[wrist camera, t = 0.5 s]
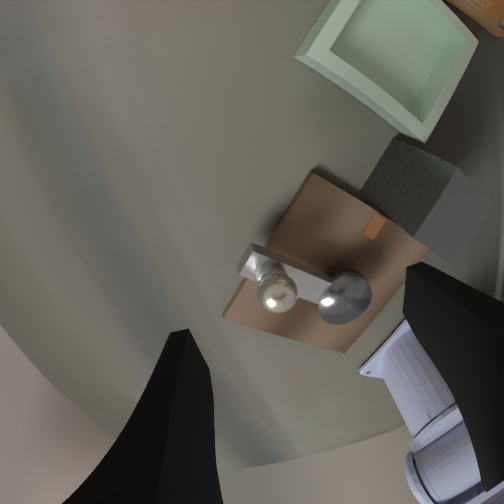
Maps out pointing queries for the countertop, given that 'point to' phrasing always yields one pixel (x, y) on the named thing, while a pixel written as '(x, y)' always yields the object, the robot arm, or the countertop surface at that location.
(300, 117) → the countertop surface
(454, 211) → the block
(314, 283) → the crank
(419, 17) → the tray
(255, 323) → the crank base
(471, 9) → the small box
